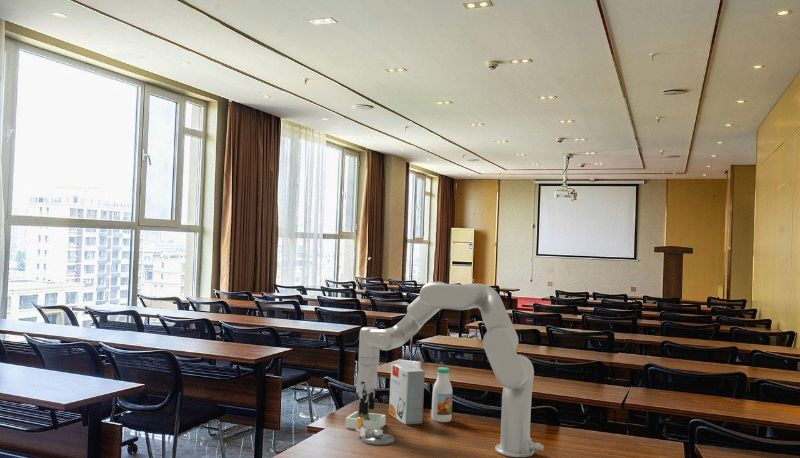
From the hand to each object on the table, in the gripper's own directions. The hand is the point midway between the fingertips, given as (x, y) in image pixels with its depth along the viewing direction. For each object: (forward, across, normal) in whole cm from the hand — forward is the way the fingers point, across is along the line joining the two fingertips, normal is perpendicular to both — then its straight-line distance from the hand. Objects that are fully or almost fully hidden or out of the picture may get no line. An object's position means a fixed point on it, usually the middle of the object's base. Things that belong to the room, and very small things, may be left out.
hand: (366, 410), depth 243 cm
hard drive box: (+6, -17, +10) cm, 21 cm away
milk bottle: (+6, -22, +23) cm, 32 cm away
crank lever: (+4, +14, +6) cm, 16 cm away
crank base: (+6, +15, +10) cm, 19 cm away
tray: (+6, 0, 0) cm, 6 cm away
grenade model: (+5, 0, 0) cm, 5 cm away
